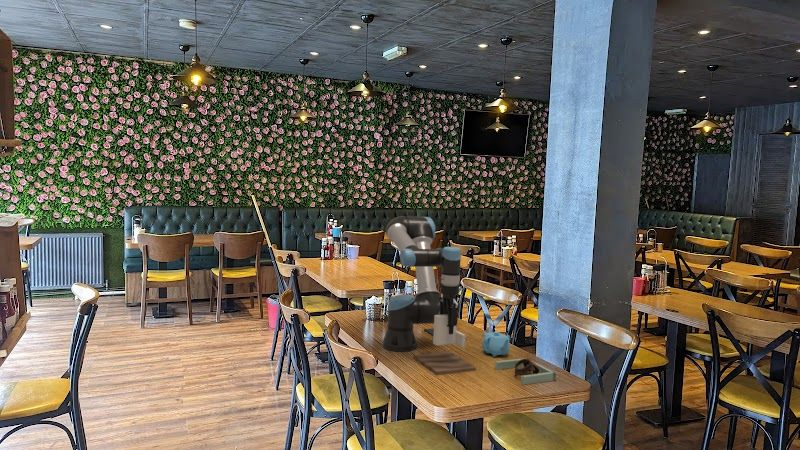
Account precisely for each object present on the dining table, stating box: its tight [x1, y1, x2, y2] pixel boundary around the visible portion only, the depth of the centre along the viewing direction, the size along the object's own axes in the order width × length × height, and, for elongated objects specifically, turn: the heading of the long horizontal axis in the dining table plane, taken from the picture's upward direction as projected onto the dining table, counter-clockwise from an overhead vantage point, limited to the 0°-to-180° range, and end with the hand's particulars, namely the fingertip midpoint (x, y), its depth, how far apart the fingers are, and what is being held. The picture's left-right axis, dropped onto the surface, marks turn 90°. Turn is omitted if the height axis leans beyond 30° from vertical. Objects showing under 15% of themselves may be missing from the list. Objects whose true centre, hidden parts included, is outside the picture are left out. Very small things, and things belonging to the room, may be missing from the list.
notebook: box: [423, 327, 467, 342], centre depth 277 cm, size 13×2×21 cm
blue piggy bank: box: [481, 331, 511, 358], centre depth 251 cm, size 18×14×10 cm
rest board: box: [412, 351, 477, 376], centre depth 235 cm, size 22×18×1 cm
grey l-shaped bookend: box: [432, 314, 466, 348], centre depth 234 cm, size 13×10×12 cm
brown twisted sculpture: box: [513, 357, 540, 376], centre depth 225 cm, size 12×9×8 cm
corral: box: [494, 357, 557, 386], centre depth 226 cm, size 19×16×3 cm
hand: (447, 340), depth 234 cm, fingers closed on grey l-shaped bookend, 3 cm apart
